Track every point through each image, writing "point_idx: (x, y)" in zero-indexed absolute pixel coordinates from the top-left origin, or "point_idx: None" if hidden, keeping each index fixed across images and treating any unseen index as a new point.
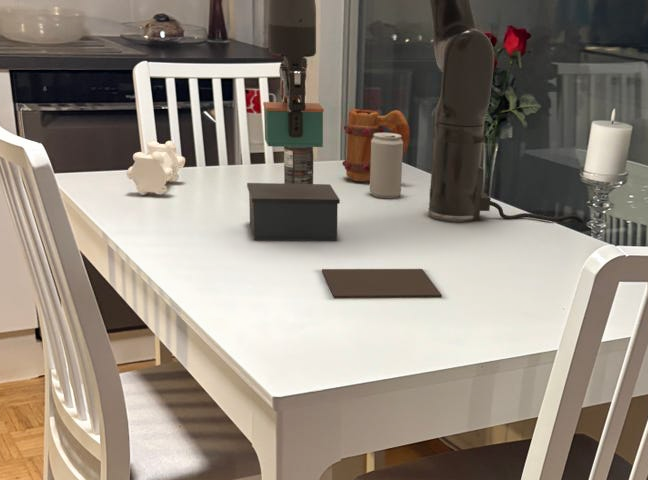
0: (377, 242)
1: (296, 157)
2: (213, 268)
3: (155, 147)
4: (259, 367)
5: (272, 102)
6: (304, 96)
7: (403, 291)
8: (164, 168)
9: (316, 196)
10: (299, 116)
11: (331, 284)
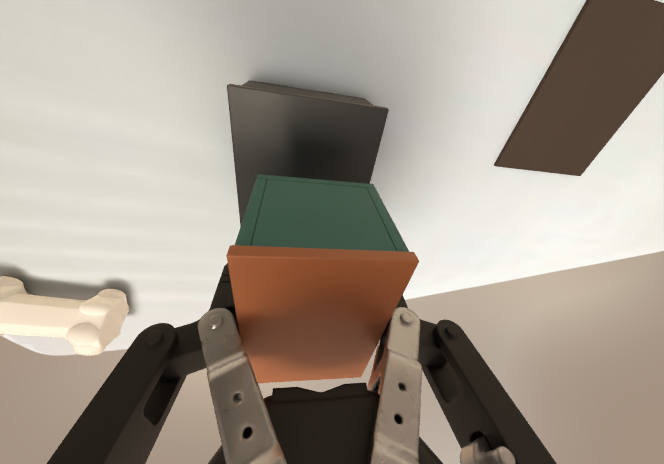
0: (394, 6)
1: None
2: (429, 259)
3: None
4: (636, 251)
5: (254, 371)
6: (491, 373)
7: (642, 80)
8: (97, 316)
9: (353, 154)
10: (404, 307)
11: (550, 169)
